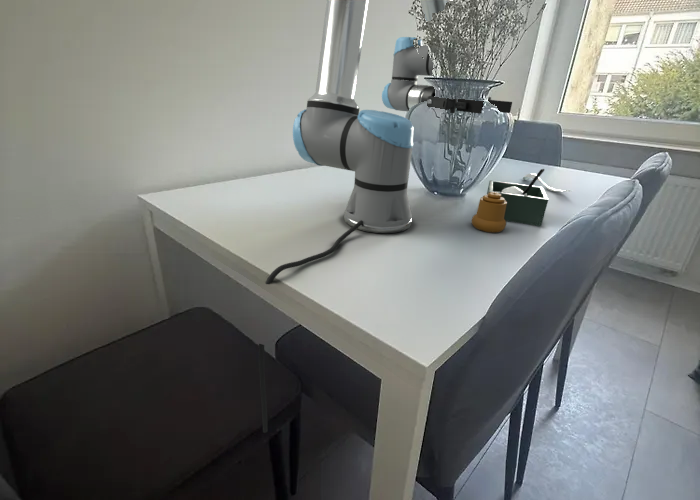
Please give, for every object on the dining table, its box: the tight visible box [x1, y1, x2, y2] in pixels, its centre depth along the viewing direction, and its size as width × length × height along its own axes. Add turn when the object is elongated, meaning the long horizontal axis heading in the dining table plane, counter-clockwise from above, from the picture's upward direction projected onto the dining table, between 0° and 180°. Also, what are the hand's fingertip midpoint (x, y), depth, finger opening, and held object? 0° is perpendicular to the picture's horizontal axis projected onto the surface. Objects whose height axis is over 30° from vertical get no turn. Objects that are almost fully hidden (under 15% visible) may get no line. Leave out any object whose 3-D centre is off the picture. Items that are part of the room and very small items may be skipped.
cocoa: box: [502, 168, 545, 196], centre depth 96 cm, size 10×6×12 cm, turn 23°
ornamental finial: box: [471, 192, 507, 234], centre depth 88 cm, size 8×8×8 cm
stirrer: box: [522, 173, 573, 193], centre depth 126 cm, size 20×4×5 cm
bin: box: [486, 179, 549, 227], centre depth 98 cm, size 12×13×7 cm
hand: (496, 107), depth 95 cm, fingers open, 13 cm apart
